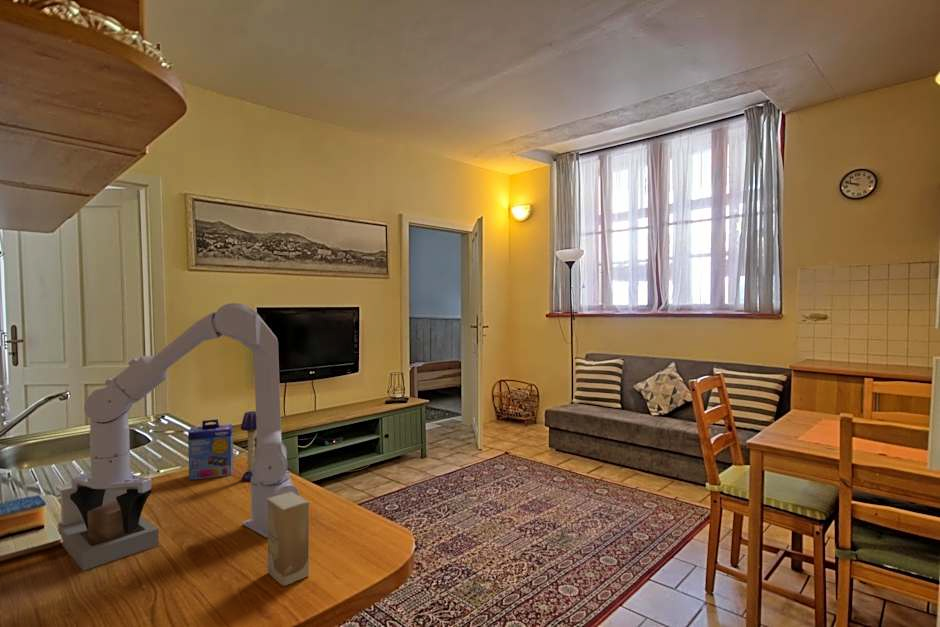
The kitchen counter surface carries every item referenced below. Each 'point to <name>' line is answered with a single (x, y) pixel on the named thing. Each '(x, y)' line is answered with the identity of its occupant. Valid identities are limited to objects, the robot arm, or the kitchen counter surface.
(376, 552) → the kitchen counter surface
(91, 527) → the walnut peg
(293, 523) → the skincare box
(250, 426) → the toy lamp
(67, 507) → the socket block
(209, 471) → the ink cartridge box
